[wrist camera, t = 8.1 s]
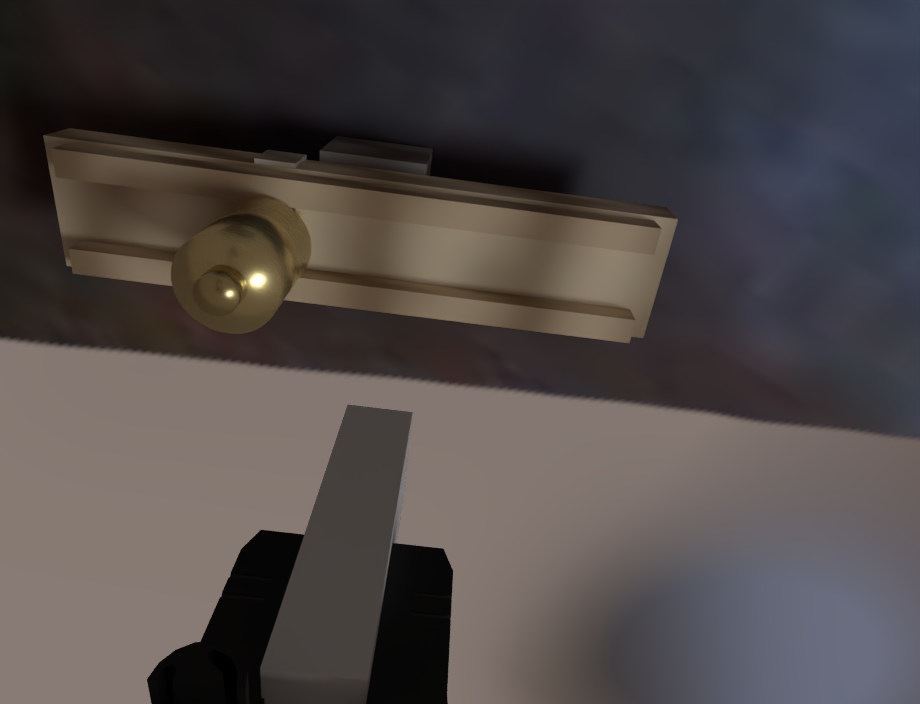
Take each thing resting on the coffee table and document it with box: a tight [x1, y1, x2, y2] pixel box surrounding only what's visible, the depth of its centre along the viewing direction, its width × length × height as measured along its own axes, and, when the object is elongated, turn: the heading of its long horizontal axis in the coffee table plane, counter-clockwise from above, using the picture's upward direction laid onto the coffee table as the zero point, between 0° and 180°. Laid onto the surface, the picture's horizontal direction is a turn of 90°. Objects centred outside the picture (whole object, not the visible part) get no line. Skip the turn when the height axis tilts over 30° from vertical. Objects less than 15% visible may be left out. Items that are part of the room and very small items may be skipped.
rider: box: [171, 197, 312, 334], centre depth 26 cm, size 4×4×7 cm
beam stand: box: [43, 128, 678, 343], centre depth 31 cm, size 28×7×7 cm, turn 83°
